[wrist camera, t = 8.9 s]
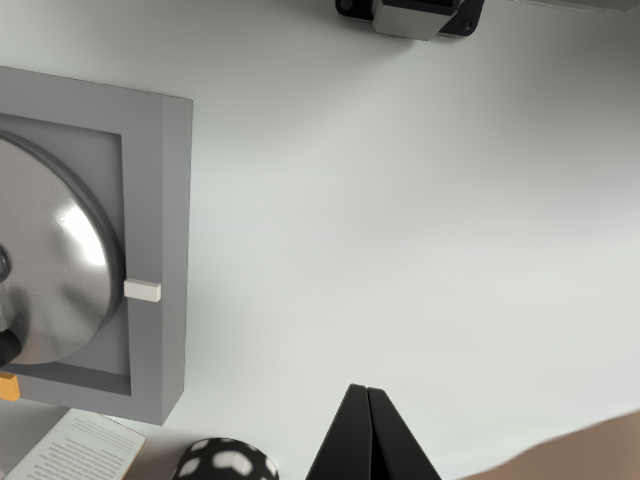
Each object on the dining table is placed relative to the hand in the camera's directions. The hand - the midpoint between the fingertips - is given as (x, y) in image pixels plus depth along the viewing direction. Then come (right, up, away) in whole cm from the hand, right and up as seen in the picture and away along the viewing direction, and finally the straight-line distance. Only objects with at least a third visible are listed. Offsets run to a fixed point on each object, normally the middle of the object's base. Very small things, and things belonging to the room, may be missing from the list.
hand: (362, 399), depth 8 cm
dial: (-19, +3, +11) cm, 23 cm away
